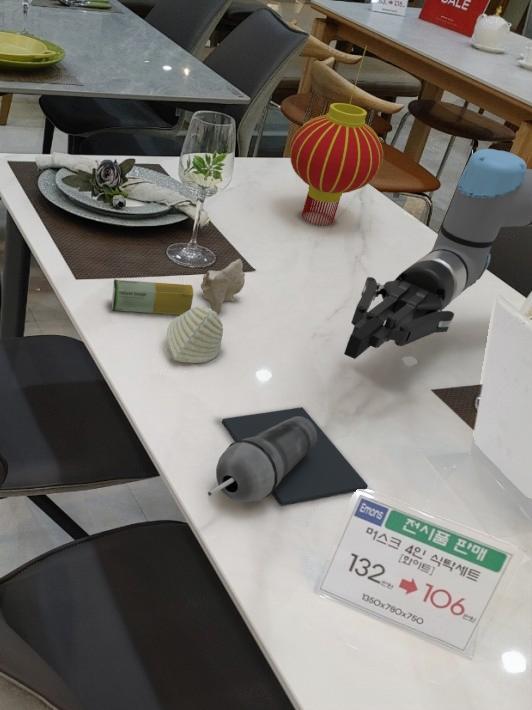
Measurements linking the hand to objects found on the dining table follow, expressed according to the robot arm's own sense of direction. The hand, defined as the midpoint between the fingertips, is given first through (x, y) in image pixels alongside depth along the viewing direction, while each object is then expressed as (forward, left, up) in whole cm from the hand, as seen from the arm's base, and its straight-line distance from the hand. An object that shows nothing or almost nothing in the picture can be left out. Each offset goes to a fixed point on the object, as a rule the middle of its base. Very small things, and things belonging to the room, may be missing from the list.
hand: (352, 346), depth 92 cm
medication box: (+32, +12, -13) cm, 36 cm away
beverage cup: (-3, +6, -9) cm, 12 cm away
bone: (+33, 0, -13) cm, 35 cm away
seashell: (+21, +10, -13) cm, 26 cm away
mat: (-4, +7, -12) cm, 15 cm away
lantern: (+60, -35, -13) cm, 71 cm away
